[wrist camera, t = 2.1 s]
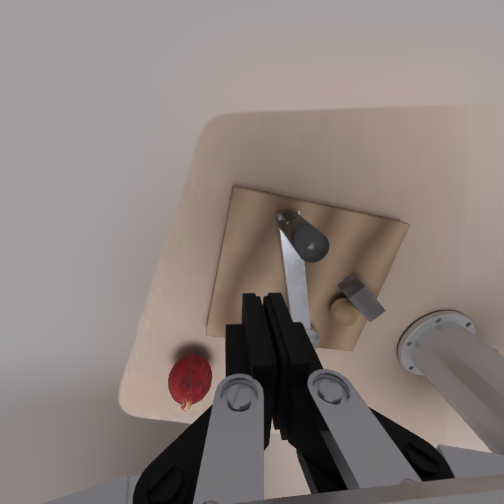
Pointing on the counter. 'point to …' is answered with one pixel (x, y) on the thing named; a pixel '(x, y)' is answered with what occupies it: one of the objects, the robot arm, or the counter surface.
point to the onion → (190, 380)
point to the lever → (299, 263)
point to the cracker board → (317, 274)
